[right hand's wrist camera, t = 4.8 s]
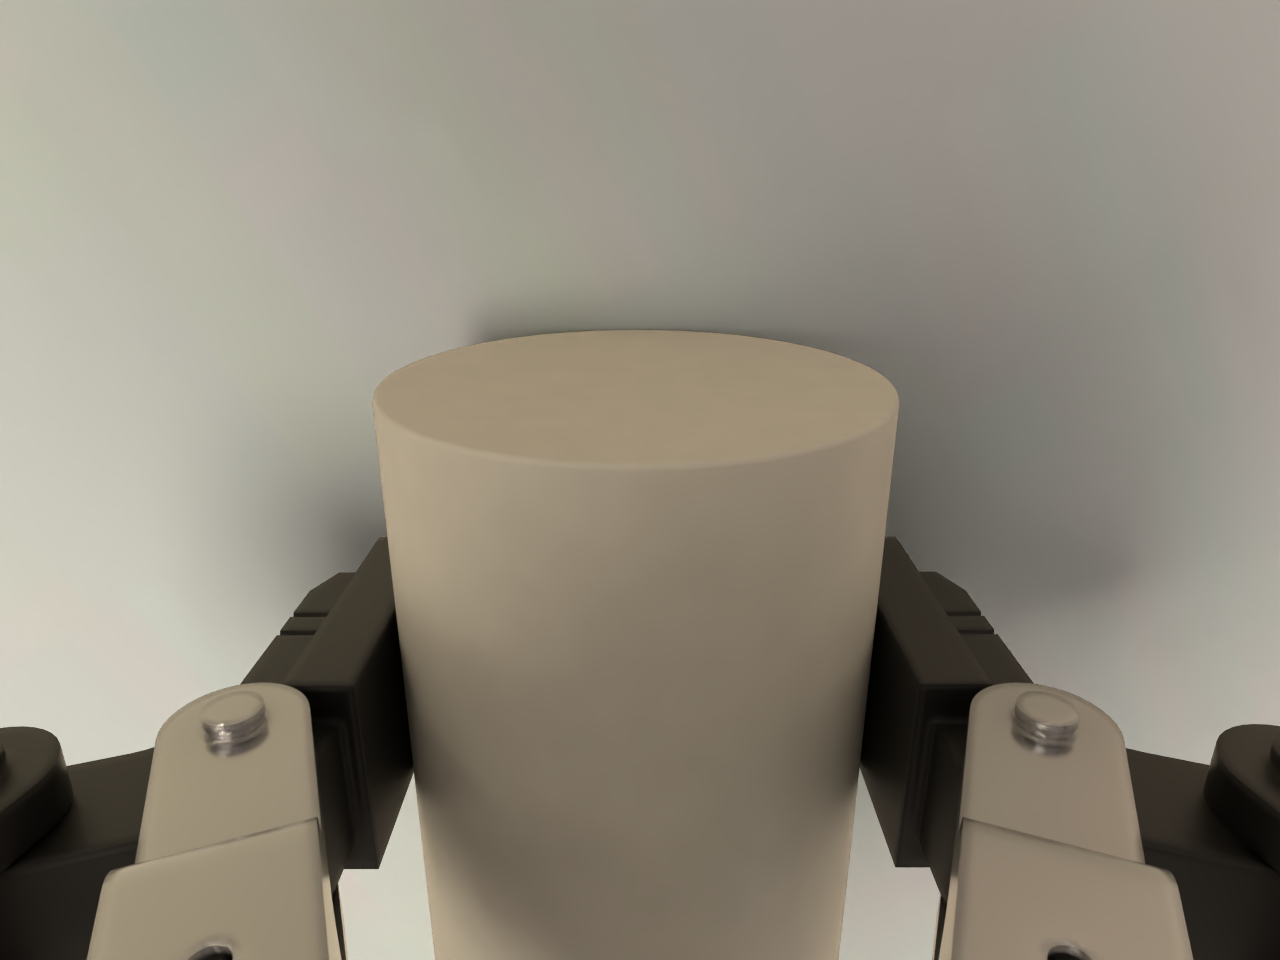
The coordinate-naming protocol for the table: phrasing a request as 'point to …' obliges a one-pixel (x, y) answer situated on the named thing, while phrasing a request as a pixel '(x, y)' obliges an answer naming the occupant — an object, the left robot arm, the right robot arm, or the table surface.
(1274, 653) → the table surface
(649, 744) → the rod
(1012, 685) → the right robot arm
